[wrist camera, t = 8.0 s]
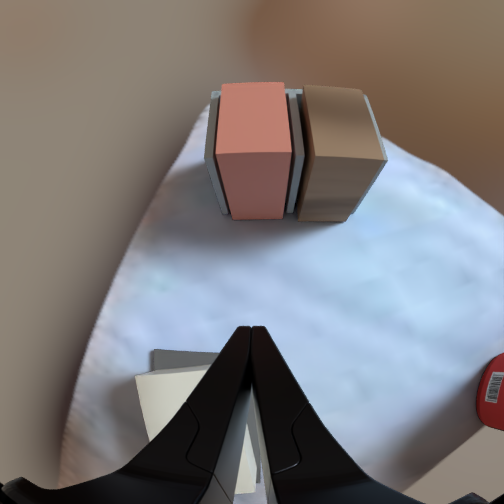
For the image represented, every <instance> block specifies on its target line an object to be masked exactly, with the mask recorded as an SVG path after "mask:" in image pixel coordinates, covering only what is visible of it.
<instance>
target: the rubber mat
mask: <svg viewBox="0 0 504 504" xmlns="http://www.w3.org/2000/svg"><path fill="white" fill-rule="evenodd" d="M218 354H219V353H211V352H189V351H174V350H161V349H154V371H155V370H163V369H174V368H184V367H194V366H202V365H210V364H212V363H213V362H214V360H215V359H216V357H217V356H218ZM247 425H248V430H249V435H250V440H251V444H252V449H253V453H254V458H255V462H256V466H257V472H256V483H260V448H259V440H258V433H257V425H256V418H255V410H254V402H253V393H252V392H251V399H250V406H249V412H248V418H247Z"/></svg>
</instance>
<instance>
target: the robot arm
mask: <svg viewBox="0 0 504 504" xmlns="http://www.w3.org/2000/svg"><path fill="white" fill-rule="evenodd" d="M251 392H252V393H253V402H254V410H255V418H256V425H257V433H258V440H259V448H260V455H261V462H262V469H263V476H264V483H265V490H266V497H267V504H425V503H422V502H420V501H417V500H415V499H413V498H411V497H408V496H406V495H404V494H402V493H400V492H397V491H395V490H393V489H391V488H389V487H387V486H385V485H383V484H381V483H379V482H377V481H376V480H374V479H373V478H371V477H370V476H369V475H367V474H366V473H365V472H364V471H363V470H362V469H361V468H360V467H359V466H358V465H357V464H356V463H355V461H354V460H353V459H352V458H351V457H350V456H349V455H348V453H347V452H346V451H345V450H344V449H343V448H342V446H341V445H340V444H339V443H338V442H337V441H336V439H335V438H334V437H333V436H332V434H331V433H330V432H329V431H328V429H327V428H326V427H325V426H324V424H323V423H322V421H321V420H320V418H319V416H318V415H317V413H316V412H315V410H314V409H313V407H312V405H311V404H310V403H309V401H308V399H307V397H306V395H305V394H304V392H303V390H302V389H301V387H300V385H299V384H298V382H297V380H296V379H295V377H294V375H293V374H292V372H291V370H290V368H289V367H288V365H287V363H286V362H285V360H284V358H283V356H282V355H281V353H280V351H279V350H278V348H277V346H276V344H275V343H274V341H273V339H272V337H271V336H270V334H269V332H268V330H267V329H266V327H265V326H253V327H252V328H251V327H250V326H239V327H237V329H236V330H235V332H234V333H233V334H232V336H231V337H230V339H229V340H228V342H227V343H226V344H225V346H224V347H223V349H222V350H221V352H220V353H219V354H218V356H217V357H216V359H215V360H214V362H213V363H212V364H211V366H210V367H209V369H208V370H207V371H206V373H205V374H204V376H203V377H202V378H201V380H200V381H199V383H198V384H197V385H196V387H195V388H194V390H193V391H192V392H191V394H190V395H189V396H188V398H187V399H186V402H184V403H183V404H182V406H181V407H180V409H179V410H178V411H177V412H176V414H175V415H174V416H173V418H172V419H171V420H170V421H169V422H168V424H167V425H166V426H165V427H164V428H163V429H162V430H161V431H160V432H159V433H158V434H157V435H156V436H155V437H154V438H153V439H152V440H151V441H150V442H149V443H148V444H147V445H146V446H145V447H144V448H143V449H142V450H141V451H140V452H139V453H138V454H137V455H136V456H135V457H134V458H133V459H132V460H131V461H130V462H129V463H127V464H126V465H125V466H123V467H122V468H120V469H119V470H117V471H115V472H113V473H110V474H107V475H105V476H102V477H99V478H96V479H93V480H90V481H86V482H83V483H80V484H76V485H73V486H69V487H66V488H62V489H53V490H52V489H51V490H49V489H44V488H41V487H38V486H37V485H35V484H33V483H32V482H30V481H28V480H27V479H25V478H23V477H19V478H17V479H14V480H12V481H10V482H8V483H6V484H5V485H3V484H2V483H0V504H233V500H234V494H235V489H236V483H237V477H238V472H239V466H240V460H241V454H242V448H243V442H244V436H245V430H246V424H247V418H248V412H249V406H250V399H251ZM449 504H504V494H502V495H501V496H499V497H497V498H496V499H494V500H493V501H491V502H490V503H489V502H487V501H486V500H485V499H483V498H482V497H480V496H479V495H477V494H475V493H469V494H467V495H465V496H464V497H462V498H459V499H457V500H455V501H454V502H451V503H449Z"/></svg>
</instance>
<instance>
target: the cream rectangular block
mask: <svg viewBox="0 0 504 504" xmlns="http://www.w3.org/2000/svg"><path fill="white" fill-rule="evenodd" d="M210 366H211V364H210V365H202V366H194V367H184V368H174V369H163V370H155V371H152V372H148V373H144V374H140V375H136V376H135V379H136V384H137V389H138V394H139V399H140V404H141V408H142V413H143V417H144V421H145V425H146V429H147V433H148V437H149V441H151V440H152V439H153V438H154V437H155V436H156V435H157V434H158V433H159V432H160V431H161V430H162V429H163V428H164V427H165V426H166V425H167V424H168V422H169V421H170V420H171V419H172V418H173V416H174V415H175V414H176V412H177V411H178V410H179V409H180V407H181V406H182V404H183V403H184V402H186V399H187V398H188V396H189V395H190V394H191V392H192V391H193V390H194V388H195V387H196V385H197V384H198V383H199V381H200V380H201V378H202V377H203V376H204V374H205V373H206V371H207V370H208V369H209V367H210ZM256 472H257V466H256V462H255V458H254V453H253V449H252V444H251V440H250V435H249V430H248V425H247V424H246V430H245V436H244V442H243V448H242V454H241V460H240V466H239V472H238V477H237V483H236V489H235V494H243V493H253V492H255V487H256Z"/></svg>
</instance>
